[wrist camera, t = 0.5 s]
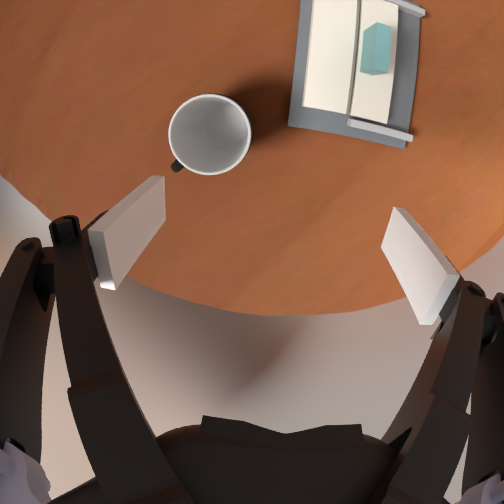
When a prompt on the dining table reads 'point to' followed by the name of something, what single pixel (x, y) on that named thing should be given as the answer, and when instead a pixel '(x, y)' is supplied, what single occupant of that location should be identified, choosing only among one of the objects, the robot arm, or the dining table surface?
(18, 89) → the dining table surface
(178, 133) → the mug
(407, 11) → the board
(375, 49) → the white long block
